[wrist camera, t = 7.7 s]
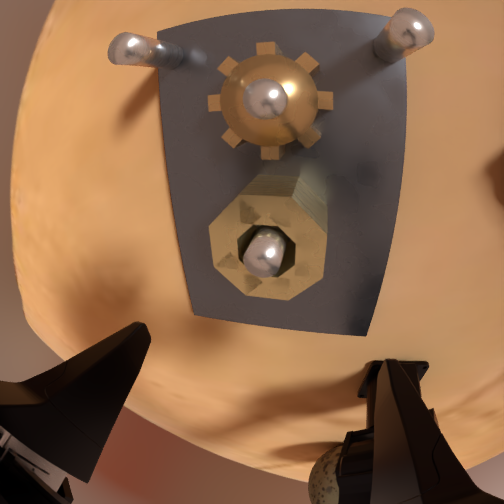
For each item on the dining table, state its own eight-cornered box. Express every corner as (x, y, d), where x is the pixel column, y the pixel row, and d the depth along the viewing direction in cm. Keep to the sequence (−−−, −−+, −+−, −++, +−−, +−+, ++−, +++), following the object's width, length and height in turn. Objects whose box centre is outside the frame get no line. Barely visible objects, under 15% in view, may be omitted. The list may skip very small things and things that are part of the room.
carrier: (365, 328, 21) (368, 386, 16) (198, 307, 25) (169, 355, 20) (397, 23, 10) (428, -10, 5) (164, 34, 13) (107, 19, 8)
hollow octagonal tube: (322, 265, 18) (319, 303, 15) (236, 257, 20) (217, 291, 16) (328, 178, 15) (330, 199, 12) (230, 174, 17) (204, 193, 13)
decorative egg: (390, 441, 32) (384, 520, 19) (348, 458, 38) (338, 525, 25) (342, 430, 32) (329, 522, 19) (302, 447, 37) (285, 521, 25)
